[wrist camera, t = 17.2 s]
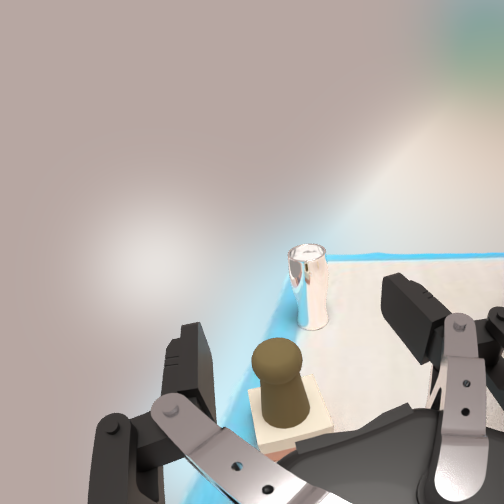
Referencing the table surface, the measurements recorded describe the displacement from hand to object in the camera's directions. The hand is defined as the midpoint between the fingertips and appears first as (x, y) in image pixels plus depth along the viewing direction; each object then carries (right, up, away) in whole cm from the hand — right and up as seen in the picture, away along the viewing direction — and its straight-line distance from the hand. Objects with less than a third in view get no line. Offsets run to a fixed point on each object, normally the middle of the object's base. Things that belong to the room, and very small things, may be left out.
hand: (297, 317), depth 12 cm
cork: (+2, -17, +21) cm, 27 cm away
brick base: (+4, -22, +24) cm, 32 cm away
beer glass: (+10, -11, +45) cm, 47 cm away
